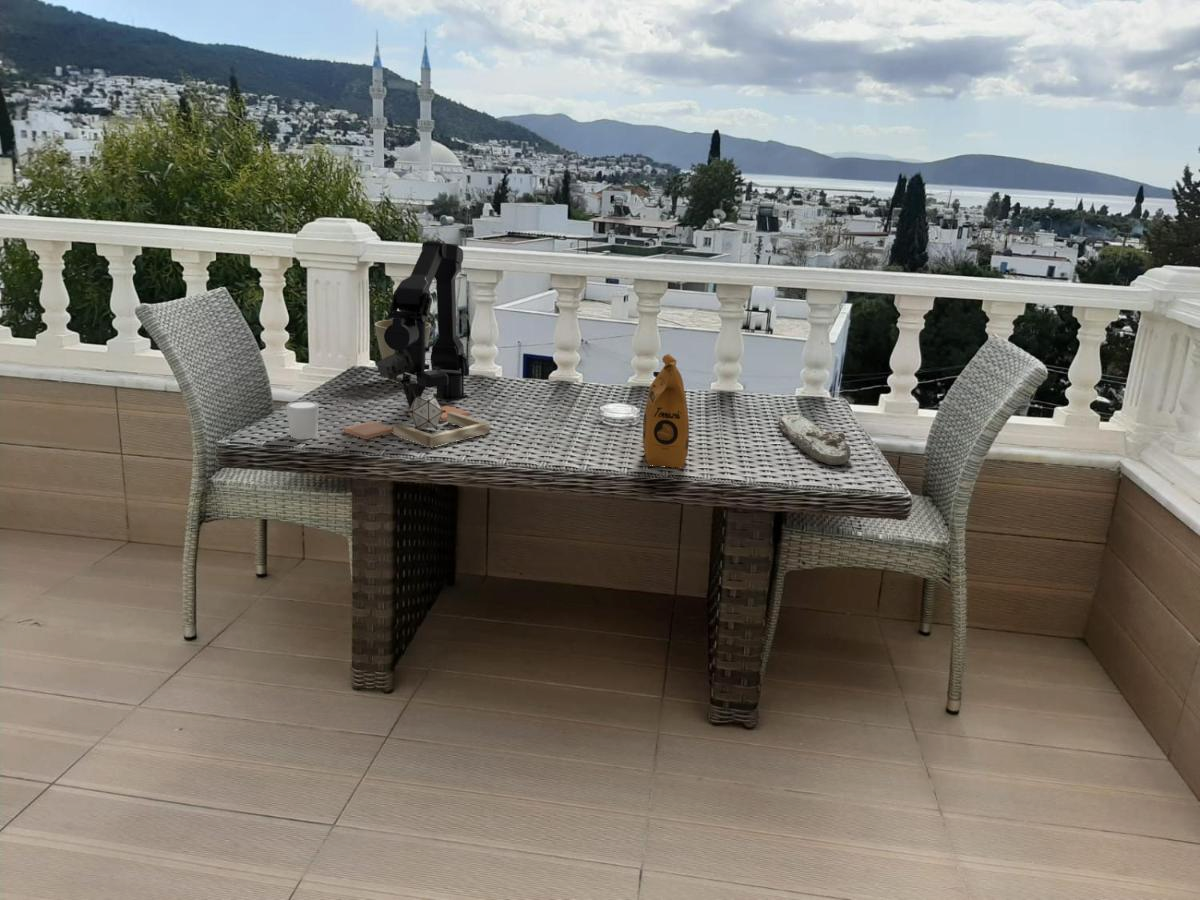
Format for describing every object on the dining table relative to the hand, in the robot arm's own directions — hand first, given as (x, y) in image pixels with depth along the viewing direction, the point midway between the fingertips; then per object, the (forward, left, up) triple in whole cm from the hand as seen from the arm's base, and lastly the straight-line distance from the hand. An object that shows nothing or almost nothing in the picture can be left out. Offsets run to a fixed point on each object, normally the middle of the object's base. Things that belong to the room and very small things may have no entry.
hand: (412, 408), depth 206 cm
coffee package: (-23, +55, -4) cm, 60 cm away
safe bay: (0, +10, -4) cm, 11 cm away
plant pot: (-26, -37, -4) cm, 45 cm away
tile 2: (-11, -2, -4) cm, 12 cm away
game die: (0, +4, -4) cm, 6 cm away
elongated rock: (-60, +71, -5) cm, 93 cm away
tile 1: (+11, -2, -4) cm, 12 cm away
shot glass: (+23, -9, -4) cm, 25 cm away
